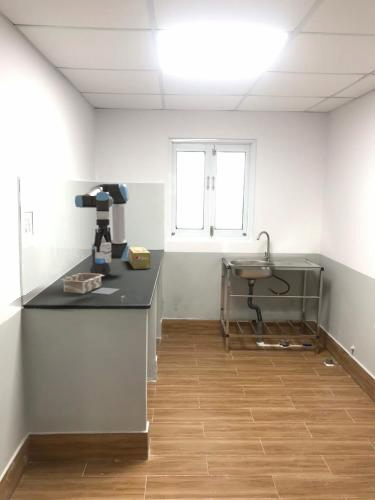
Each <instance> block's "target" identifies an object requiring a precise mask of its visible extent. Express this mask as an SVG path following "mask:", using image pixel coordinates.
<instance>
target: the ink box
mask: <svg viewBox="0 0 375 500" xmlns="http://www.w3.org/2000/svg"><path fill="white" fill-rule="evenodd" d="M100 247H101V258H97V247H95V263H99V264H102V263H112V260H111V243H108V242H106V240H105V238H104V236H103V238H102V242H101V246H100Z"/></svg>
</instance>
